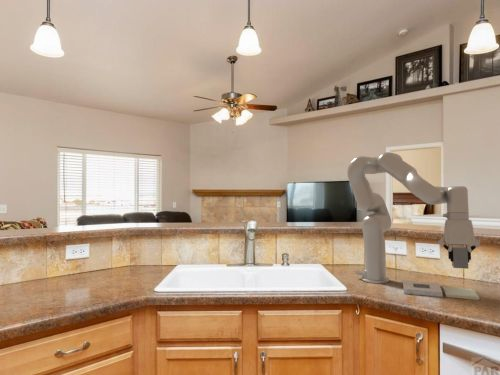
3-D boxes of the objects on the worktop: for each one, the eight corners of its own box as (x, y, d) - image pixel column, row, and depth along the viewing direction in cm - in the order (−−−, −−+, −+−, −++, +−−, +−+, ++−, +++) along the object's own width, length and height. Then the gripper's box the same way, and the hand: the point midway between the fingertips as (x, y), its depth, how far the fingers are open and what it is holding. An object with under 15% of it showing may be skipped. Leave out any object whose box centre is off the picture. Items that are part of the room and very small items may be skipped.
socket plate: (403, 293, 139) (403, 288, 139) (403, 284, 152) (403, 280, 152) (442, 297, 133) (442, 292, 133) (438, 287, 146) (438, 283, 146)
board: (446, 296, 134) (446, 294, 134) (442, 288, 145) (442, 286, 145) (479, 299, 129) (479, 297, 129) (473, 291, 140) (473, 288, 140)
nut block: (453, 267, 136) (452, 247, 136) (451, 265, 140) (451, 246, 140) (468, 268, 134) (467, 248, 134) (466, 266, 138) (465, 246, 138)
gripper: (435, 217, 137) (436, 262, 137) (484, 217, 131) (487, 264, 130) (433, 216, 144) (435, 258, 144) (480, 216, 137) (482, 260, 137)
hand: (459, 260), depth 137 cm, fingers closed on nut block, 5 cm apart
